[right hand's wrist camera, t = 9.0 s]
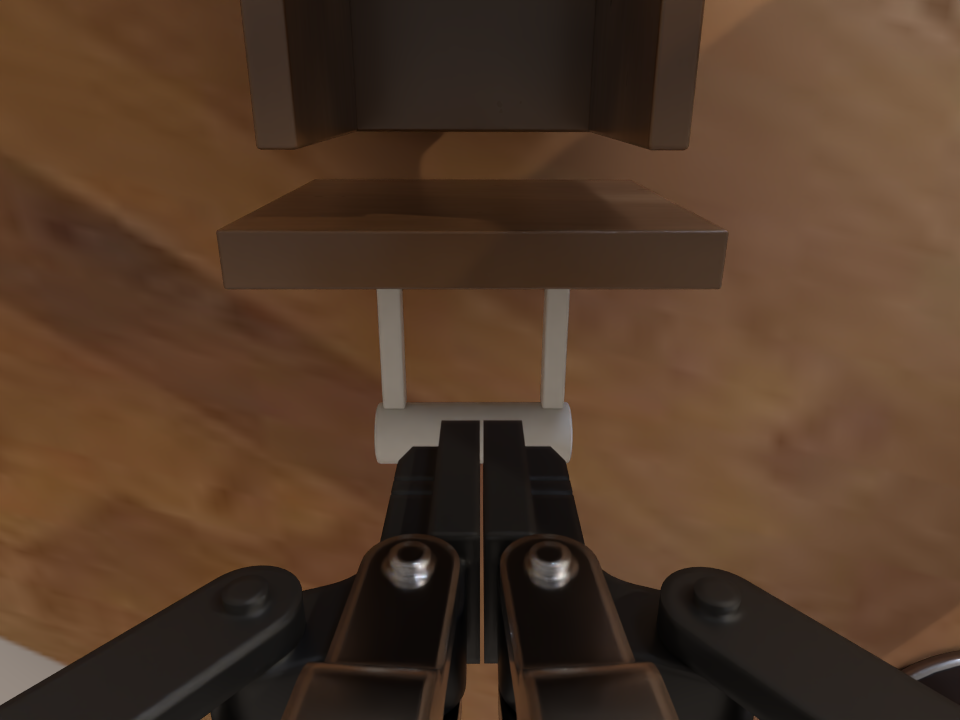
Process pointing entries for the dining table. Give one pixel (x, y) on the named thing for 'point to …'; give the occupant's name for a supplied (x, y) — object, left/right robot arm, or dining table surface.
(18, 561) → the dining table surface
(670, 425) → the dining table surface
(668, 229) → the drawer
